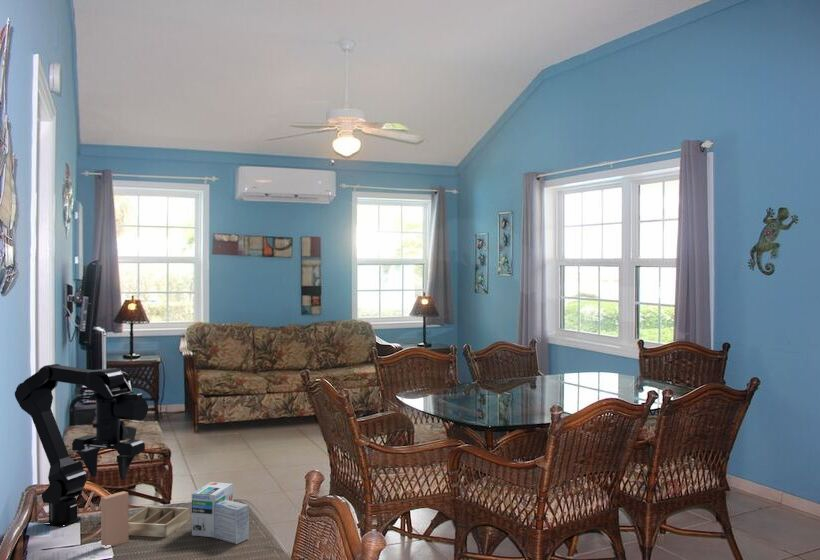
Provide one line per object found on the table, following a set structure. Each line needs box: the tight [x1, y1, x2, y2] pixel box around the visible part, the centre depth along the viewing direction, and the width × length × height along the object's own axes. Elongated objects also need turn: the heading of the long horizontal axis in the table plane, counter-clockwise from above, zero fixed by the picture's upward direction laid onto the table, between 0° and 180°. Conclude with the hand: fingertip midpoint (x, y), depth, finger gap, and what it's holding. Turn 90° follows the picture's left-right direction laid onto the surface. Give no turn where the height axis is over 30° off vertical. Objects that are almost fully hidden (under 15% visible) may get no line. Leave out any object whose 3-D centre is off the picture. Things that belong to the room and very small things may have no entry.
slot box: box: [128, 505, 191, 538], centre depth 184 cm, size 12×13×3 cm
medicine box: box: [213, 500, 250, 545], centre depth 176 cm, size 8×4×9 cm, turn 58°
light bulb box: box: [191, 481, 234, 538], centre depth 183 cm, size 11×7×11 cm, turn 168°
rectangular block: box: [100, 491, 130, 547], centre depth 173 cm, size 2×6×12 cm, turn 144°
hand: (108, 478), depth 183 cm, fingers open, 9 cm apart
